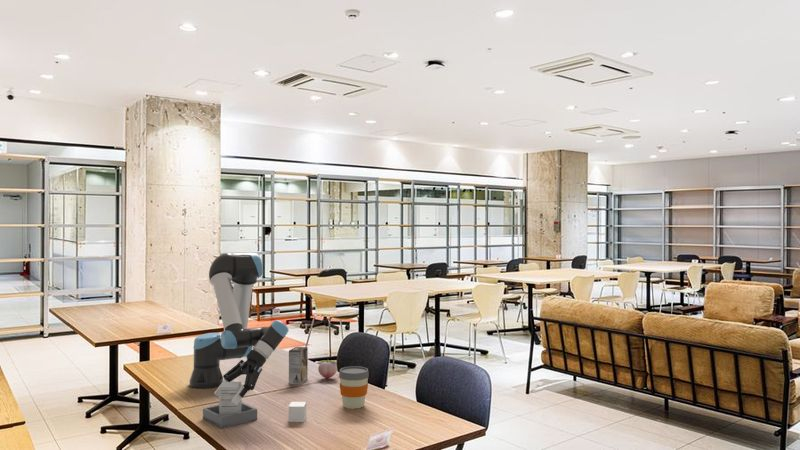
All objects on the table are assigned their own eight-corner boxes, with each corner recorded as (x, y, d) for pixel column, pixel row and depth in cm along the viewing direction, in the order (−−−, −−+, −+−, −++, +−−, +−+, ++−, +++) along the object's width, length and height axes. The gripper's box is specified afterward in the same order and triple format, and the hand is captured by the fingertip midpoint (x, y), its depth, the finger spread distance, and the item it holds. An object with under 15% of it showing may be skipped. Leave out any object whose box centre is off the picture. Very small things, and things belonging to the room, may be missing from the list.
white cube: (304, 422, 220) (304, 406, 220) (288, 422, 220) (288, 406, 220) (306, 416, 226) (306, 401, 226) (291, 416, 226) (291, 401, 226)
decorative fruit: (337, 376, 287) (337, 356, 287) (336, 380, 279) (336, 360, 279) (319, 376, 287) (319, 356, 287) (317, 380, 278) (317, 360, 278)
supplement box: (222, 413, 226) (223, 381, 226) (241, 413, 227) (242, 381, 227) (218, 419, 219) (218, 386, 219) (238, 419, 219) (238, 386, 219)
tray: (202, 418, 223) (202, 408, 223) (237, 410, 233) (237, 400, 233) (221, 428, 212) (221, 417, 212) (257, 419, 223) (257, 409, 223)
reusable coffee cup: (372, 402, 245) (373, 367, 245) (361, 411, 233) (361, 374, 233) (346, 399, 249) (346, 365, 249) (333, 408, 237) (334, 372, 237)
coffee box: (295, 378, 282) (295, 346, 282) (307, 379, 280) (308, 347, 280) (288, 383, 272) (288, 350, 273) (300, 384, 271) (301, 350, 271)
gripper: (282, 365, 225) (247, 412, 214) (249, 354, 242) (215, 397, 232) (270, 354, 221) (234, 401, 210) (238, 344, 239) (203, 386, 228)
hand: (224, 399), depth 221 cm, fingers open, 13 cm apart
